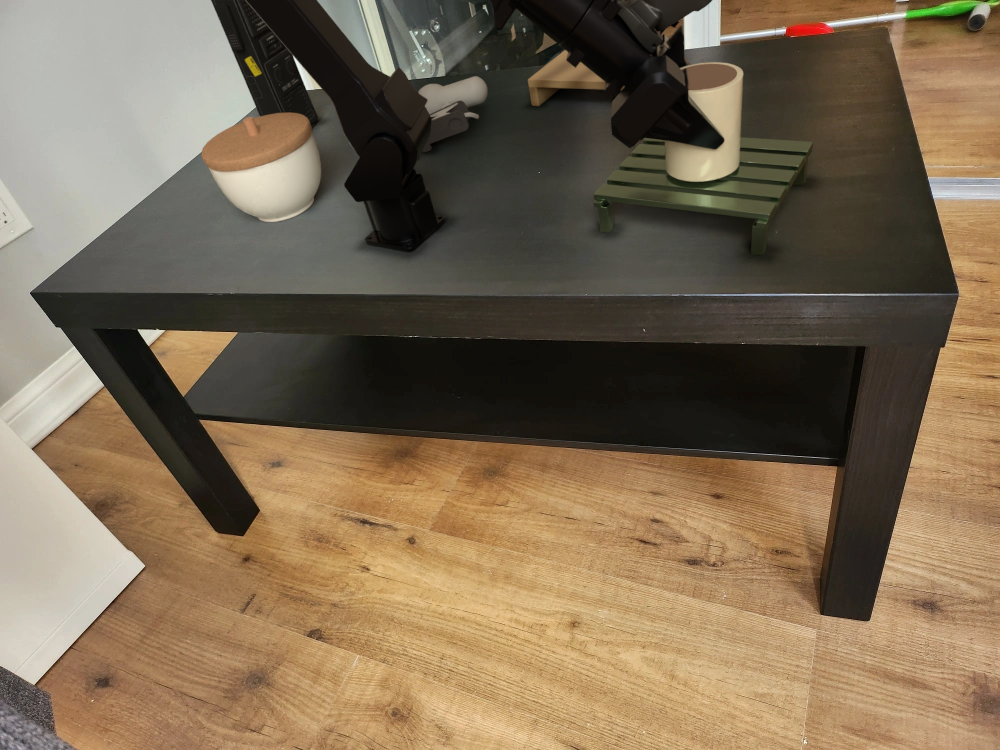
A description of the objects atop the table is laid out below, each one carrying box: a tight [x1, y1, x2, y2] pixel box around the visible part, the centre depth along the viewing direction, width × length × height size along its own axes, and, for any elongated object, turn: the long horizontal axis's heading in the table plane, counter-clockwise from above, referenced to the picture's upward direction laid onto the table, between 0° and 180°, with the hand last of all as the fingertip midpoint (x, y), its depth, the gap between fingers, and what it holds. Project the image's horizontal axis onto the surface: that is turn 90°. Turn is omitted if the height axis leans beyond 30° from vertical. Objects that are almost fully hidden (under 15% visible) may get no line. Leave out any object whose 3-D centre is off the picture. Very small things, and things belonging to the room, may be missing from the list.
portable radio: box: [210, 0, 320, 127], centre depth 97 cm, size 8×6×25 cm
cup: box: [665, 61, 744, 182], centre depth 63 cm, size 7×7×8 cm
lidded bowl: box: [200, 113, 322, 223], centre depth 82 cm, size 13×13×11 cm
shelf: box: [527, 49, 625, 107], centre depth 93 cm, size 16×12×4 cm
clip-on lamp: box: [417, 75, 489, 153], centre depth 93 cm, size 12×6×18 cm
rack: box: [592, 136, 814, 256], centre depth 67 cm, size 16×14×4 cm
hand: (717, 127), depth 63 cm, fingers closed on cup, 6 cm apart
